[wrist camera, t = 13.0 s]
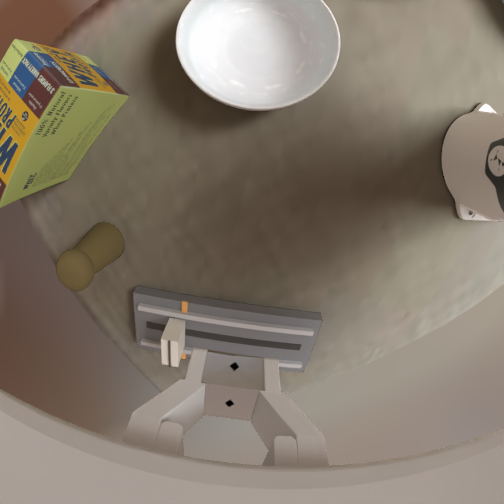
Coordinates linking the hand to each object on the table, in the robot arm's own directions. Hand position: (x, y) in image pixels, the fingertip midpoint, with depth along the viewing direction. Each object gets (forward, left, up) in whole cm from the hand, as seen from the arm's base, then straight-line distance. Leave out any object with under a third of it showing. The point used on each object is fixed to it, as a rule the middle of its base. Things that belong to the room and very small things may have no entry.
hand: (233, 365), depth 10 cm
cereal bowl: (+2, -18, -29) cm, 35 cm away
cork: (+20, +10, -29) cm, 37 cm away
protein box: (+26, -8, -29) cm, 40 cm away
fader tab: (+8, +22, -27) cm, 36 cm away
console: (+1, +22, -29) cm, 36 cm away
